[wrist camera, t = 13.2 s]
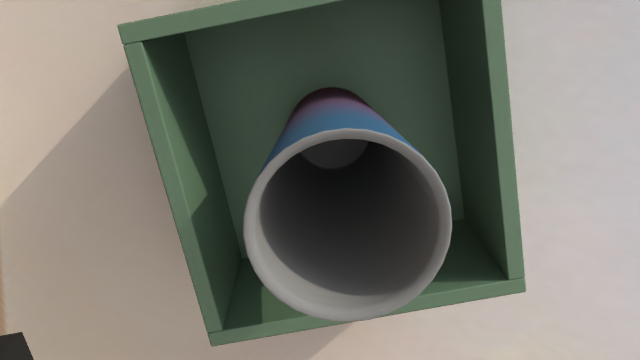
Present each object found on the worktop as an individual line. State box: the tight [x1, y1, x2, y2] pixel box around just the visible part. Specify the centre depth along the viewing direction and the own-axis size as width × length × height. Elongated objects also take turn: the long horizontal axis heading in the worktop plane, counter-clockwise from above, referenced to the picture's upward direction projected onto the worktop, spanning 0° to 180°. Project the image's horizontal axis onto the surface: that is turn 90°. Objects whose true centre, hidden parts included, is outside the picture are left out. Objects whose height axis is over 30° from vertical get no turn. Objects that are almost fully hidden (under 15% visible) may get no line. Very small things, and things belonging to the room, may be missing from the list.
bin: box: [117, 0, 526, 346], centre depth 29 cm, size 16×16×9 cm
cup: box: [243, 87, 452, 322], centre depth 25 cm, size 7×7×15 cm
